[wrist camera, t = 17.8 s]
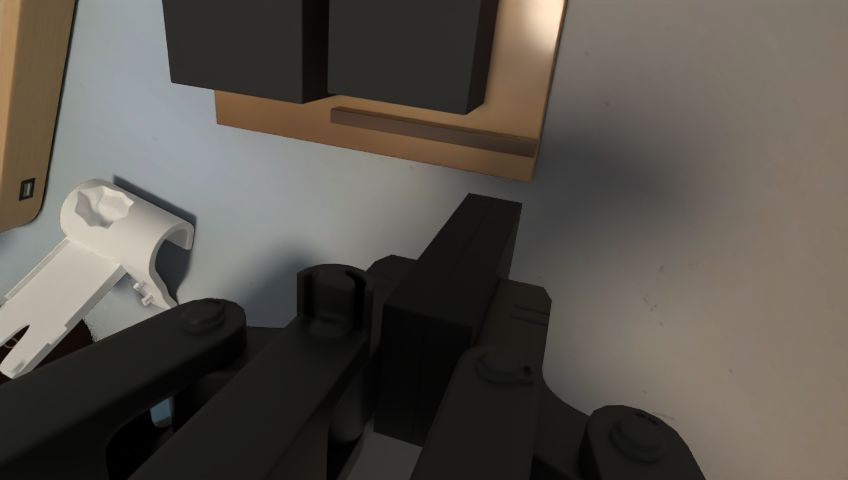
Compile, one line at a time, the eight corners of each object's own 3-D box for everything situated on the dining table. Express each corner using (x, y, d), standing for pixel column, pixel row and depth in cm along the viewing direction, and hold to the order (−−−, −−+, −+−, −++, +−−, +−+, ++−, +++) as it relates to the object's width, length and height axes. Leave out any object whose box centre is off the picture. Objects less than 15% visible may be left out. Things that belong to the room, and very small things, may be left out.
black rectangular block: (483, 103, 26) (465, 116, 23) (361, 84, 28) (327, 92, 25) (506, -49, 23) (489, -62, 20) (368, -61, 25) (330, -74, 22)
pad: (338, 95, 29) (302, 105, 25) (219, 76, 31) (170, 82, 27) (342, -68, 25) (301, -83, 22) (208, -77, 27) (151, -93, 24)
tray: (532, 177, 28) (527, 188, 26) (228, 121, 33) (205, 126, 31) (591, -124, 22) (590, -138, 20) (211, -139, 27) (182, -151, 25)
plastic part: (197, 215, 37) (46, 287, 27) (181, 316, 42) (47, 411, 31) (113, 172, 38) (-65, 226, 28) (106, 276, 42) (-48, 355, 32)
